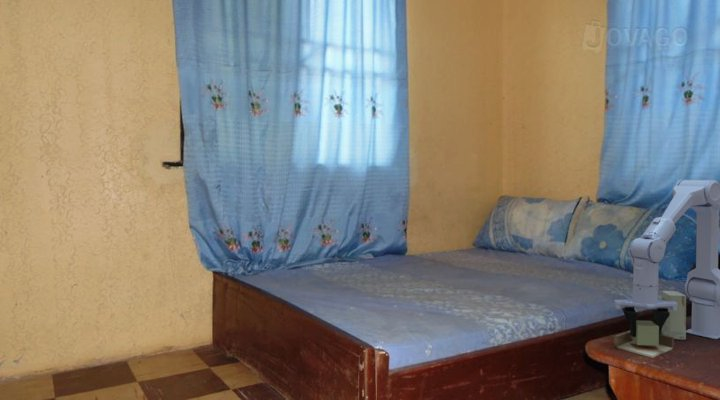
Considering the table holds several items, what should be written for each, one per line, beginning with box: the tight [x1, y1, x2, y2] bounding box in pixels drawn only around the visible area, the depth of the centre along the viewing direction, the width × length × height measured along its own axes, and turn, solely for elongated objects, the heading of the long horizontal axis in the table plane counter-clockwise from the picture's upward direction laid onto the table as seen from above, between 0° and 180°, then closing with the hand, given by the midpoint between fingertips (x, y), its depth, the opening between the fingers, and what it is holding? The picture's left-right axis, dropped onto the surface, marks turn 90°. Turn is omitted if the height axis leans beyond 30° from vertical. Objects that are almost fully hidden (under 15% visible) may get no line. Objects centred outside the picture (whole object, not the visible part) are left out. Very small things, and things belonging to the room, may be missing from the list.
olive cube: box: [631, 320, 659, 346], centre depth 139 cm, size 5×5×5 cm
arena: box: [613, 329, 675, 358], centre depth 140 cm, size 11×10×3 cm
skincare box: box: [661, 290, 687, 341], centre depth 149 cm, size 6×4×12 cm
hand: (644, 336), depth 140 cm, fingers closed on olive cube, 5 cm apart
